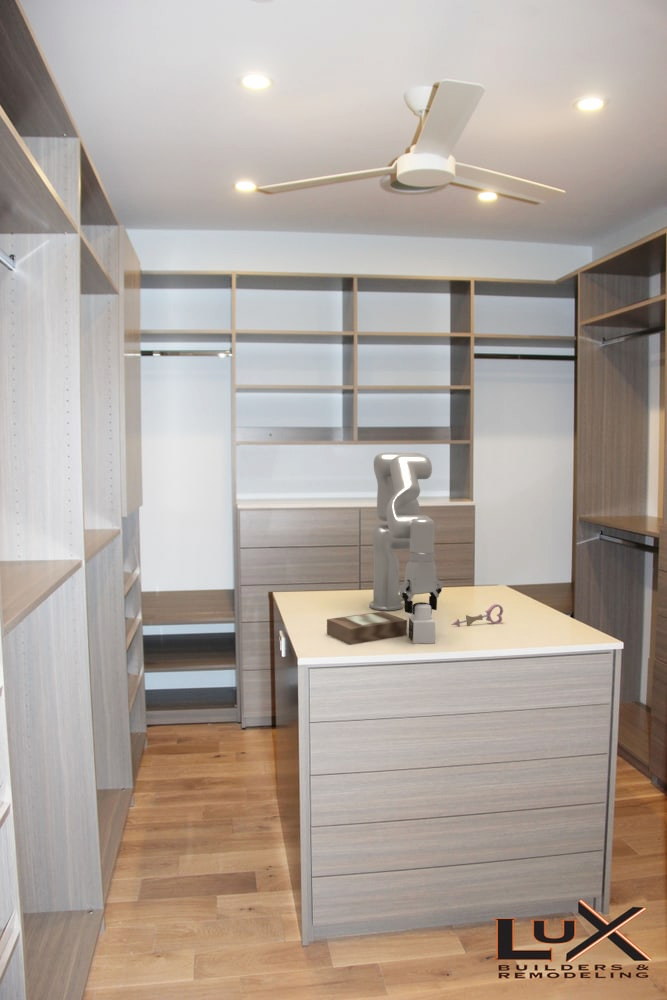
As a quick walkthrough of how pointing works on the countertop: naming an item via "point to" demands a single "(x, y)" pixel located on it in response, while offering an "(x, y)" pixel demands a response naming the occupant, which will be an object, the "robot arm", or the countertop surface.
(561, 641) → the countertop surface
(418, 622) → the medicine bottle
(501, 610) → the decorative key
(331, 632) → the shelf riser
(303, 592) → the countertop surface
